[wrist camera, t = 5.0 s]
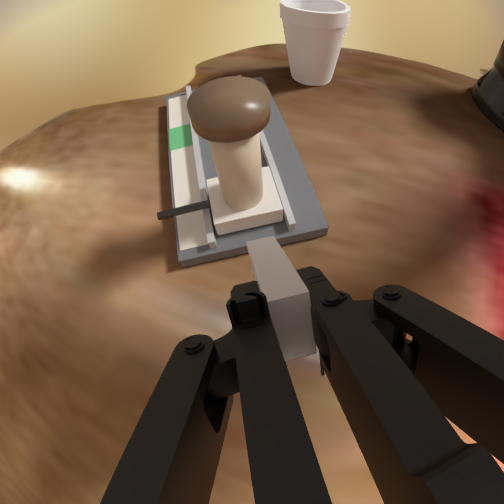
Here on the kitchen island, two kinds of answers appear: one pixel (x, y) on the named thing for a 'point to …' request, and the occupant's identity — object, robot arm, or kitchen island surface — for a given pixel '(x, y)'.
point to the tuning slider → (234, 154)
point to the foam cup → (314, 37)
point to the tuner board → (202, 168)
